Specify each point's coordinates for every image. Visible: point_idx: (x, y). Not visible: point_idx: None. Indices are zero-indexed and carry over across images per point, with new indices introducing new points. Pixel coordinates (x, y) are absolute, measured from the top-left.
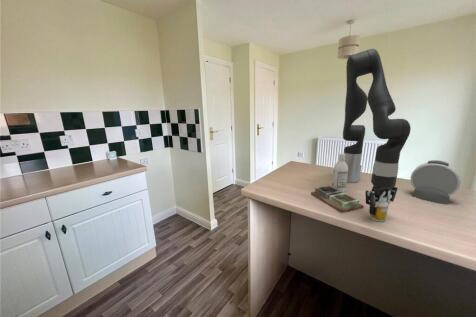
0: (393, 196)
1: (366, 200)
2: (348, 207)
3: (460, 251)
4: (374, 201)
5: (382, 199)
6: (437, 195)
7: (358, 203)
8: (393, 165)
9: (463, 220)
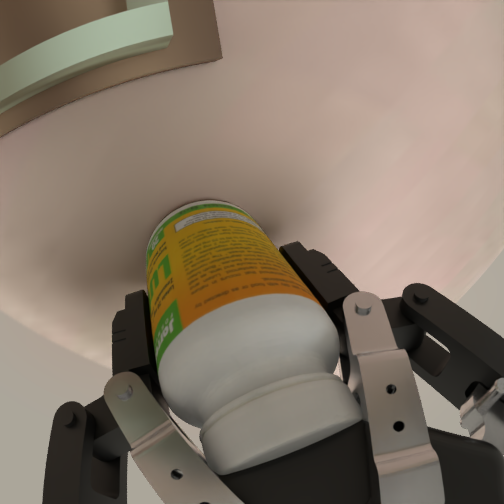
0: (430, 377)
1: (55, 461)
2: (3, 111)
3: None
4: (184, 407)
5: None
6: None
7: (153, 47)
8: None
9: (480, 268)
